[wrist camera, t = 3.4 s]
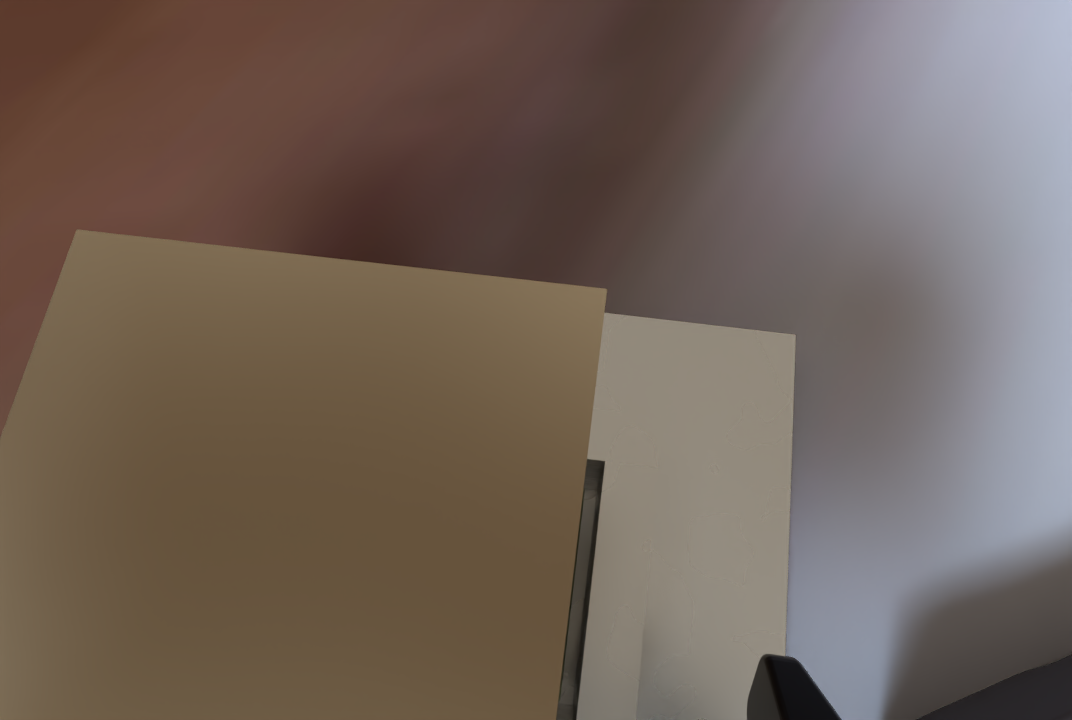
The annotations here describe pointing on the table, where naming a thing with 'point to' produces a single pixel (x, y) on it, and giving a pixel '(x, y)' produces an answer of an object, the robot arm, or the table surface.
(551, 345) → the column
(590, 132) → the table surface
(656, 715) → the sleeve stand
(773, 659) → the robot arm
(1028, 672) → the calculator
